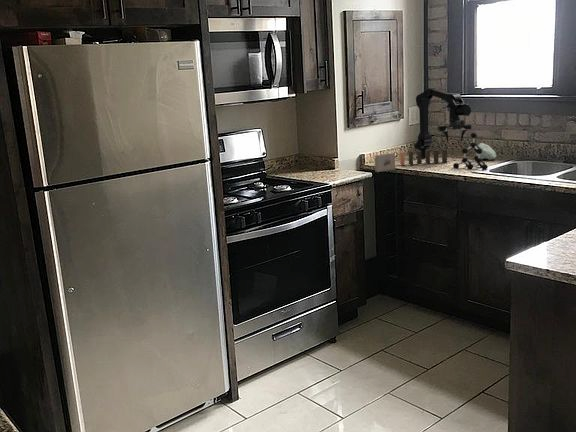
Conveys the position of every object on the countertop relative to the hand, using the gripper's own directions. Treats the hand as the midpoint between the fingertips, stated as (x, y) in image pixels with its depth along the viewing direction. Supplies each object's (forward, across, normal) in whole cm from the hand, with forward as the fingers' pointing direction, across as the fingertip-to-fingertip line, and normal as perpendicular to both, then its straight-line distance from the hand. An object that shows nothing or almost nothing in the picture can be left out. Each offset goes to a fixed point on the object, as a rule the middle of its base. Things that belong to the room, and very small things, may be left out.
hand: (454, 141), depth 372 cm
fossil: (+12, -43, -14) cm, 47 cm away
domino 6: (+12, -6, 0) cm, 13 cm away
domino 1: (+12, -31, 0) cm, 33 cm away
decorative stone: (+12, +19, +3) cm, 23 cm away
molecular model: (+13, +7, -19) cm, 24 cm away
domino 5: (+12, -11, 0) cm, 16 cm away
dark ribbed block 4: (+12, -21, 0) cm, 24 cm away
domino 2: (+12, -26, 0) cm, 29 cm away
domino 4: (+12, -16, 0) cm, 20 cm away
